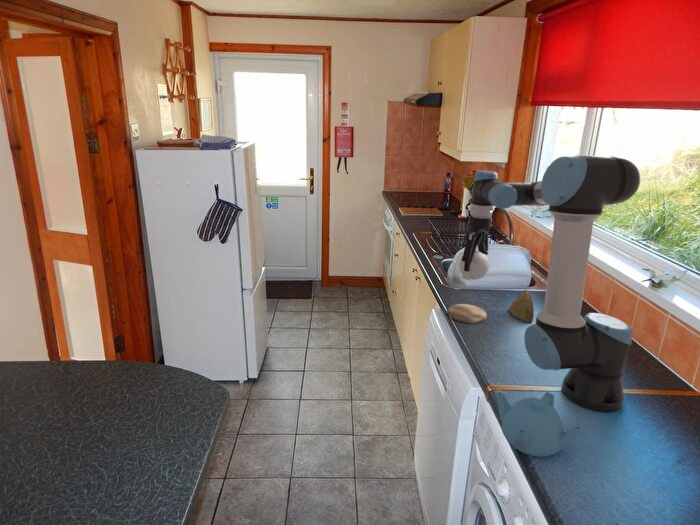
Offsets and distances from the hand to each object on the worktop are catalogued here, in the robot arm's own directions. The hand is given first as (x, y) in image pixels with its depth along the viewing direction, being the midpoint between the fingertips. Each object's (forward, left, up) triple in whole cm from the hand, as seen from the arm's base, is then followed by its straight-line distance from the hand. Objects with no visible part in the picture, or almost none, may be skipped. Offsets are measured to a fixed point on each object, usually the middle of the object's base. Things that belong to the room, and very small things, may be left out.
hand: (472, 274), depth 169 cm
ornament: (0, 0, -2) cm, 2 cm away
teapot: (-54, -40, -16) cm, 70 cm away
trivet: (0, 0, -16) cm, 16 cm away
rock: (+12, -16, -16) cm, 26 cm away
